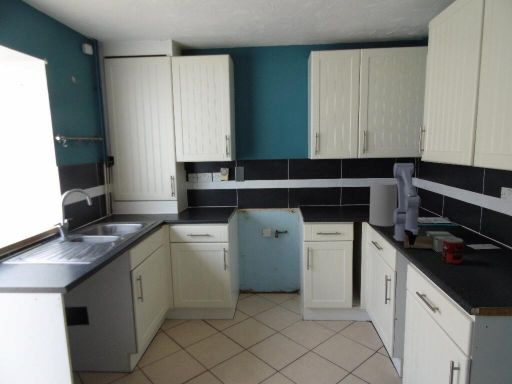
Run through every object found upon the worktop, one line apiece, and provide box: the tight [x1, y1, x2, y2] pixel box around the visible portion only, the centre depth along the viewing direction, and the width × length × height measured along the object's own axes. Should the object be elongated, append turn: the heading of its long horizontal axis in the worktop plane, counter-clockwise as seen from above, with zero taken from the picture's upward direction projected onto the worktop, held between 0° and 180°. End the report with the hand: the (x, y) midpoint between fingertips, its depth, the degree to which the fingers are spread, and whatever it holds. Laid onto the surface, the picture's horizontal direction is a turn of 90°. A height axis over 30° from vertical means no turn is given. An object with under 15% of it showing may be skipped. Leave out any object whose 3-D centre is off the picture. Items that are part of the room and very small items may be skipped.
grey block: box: [425, 230, 456, 253], centre depth 171 cm, size 14×11×8 cm
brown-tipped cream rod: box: [403, 235, 433, 249], centre depth 173 cm, size 2×14×6 cm, turn 82°
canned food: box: [441, 236, 464, 265], centre depth 152 cm, size 8×8×11 cm
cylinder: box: [369, 182, 398, 227], centre depth 225 cm, size 17×17×28 cm
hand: (410, 244), depth 173 cm, fingers closed on brown-tipped cream rod, 2 cm apart
